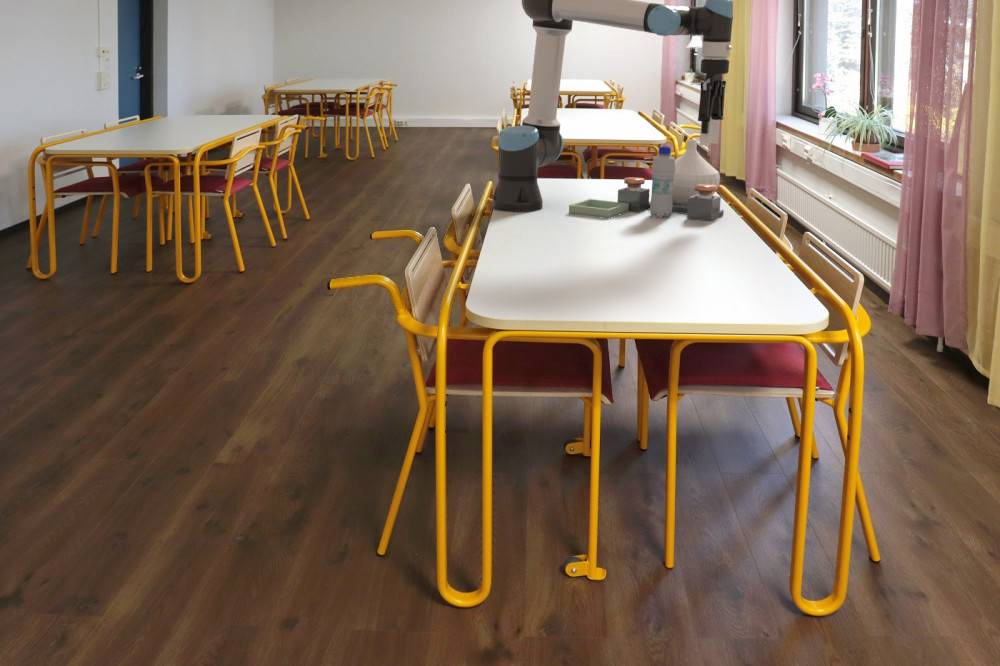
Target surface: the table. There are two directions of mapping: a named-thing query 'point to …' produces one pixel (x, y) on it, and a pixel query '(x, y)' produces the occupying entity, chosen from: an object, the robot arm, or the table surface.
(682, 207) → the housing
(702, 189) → the plunger right
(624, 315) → the table surface
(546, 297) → the table surface
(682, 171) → the vase
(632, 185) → the plunger left
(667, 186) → the bottle
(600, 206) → the tray
